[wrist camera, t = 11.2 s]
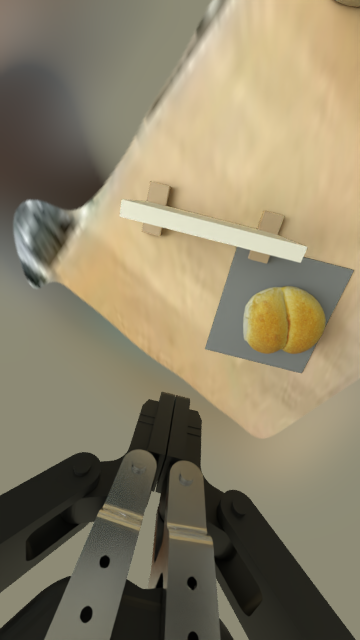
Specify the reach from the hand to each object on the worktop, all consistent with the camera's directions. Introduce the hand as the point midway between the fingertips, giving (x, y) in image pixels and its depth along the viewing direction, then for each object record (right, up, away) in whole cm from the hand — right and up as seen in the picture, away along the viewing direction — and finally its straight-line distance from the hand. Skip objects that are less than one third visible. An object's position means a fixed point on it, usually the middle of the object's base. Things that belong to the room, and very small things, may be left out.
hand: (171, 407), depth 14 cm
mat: (+12, +5, +19) cm, 23 cm away
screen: (+4, +15, +15) cm, 22 cm away
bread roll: (+12, +5, +19) cm, 23 cm away
